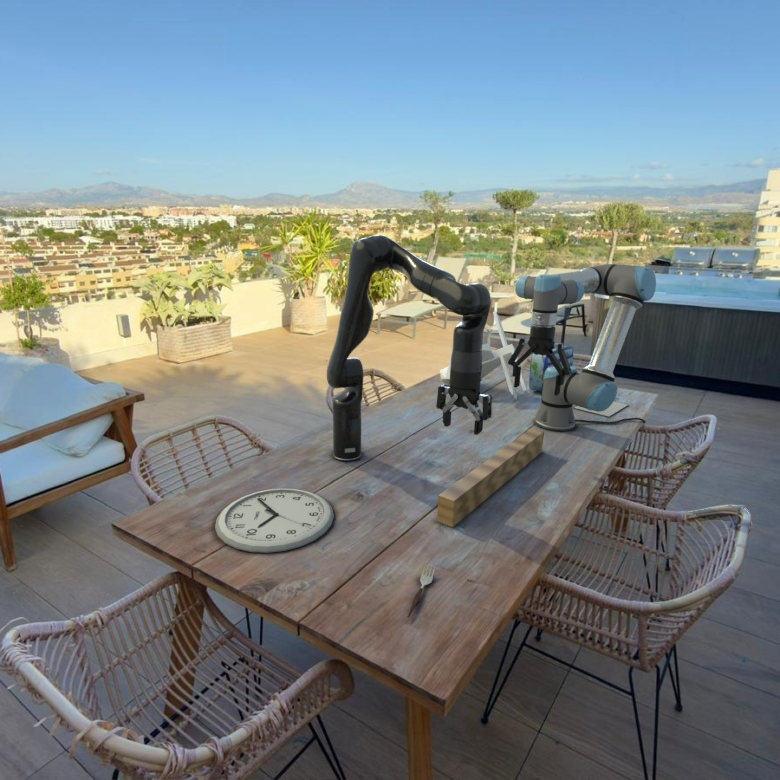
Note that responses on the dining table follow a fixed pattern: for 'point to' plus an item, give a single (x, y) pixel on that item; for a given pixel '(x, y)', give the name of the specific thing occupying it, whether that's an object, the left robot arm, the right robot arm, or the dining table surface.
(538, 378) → the lunch box
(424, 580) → the fork
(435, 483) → the dining table surface
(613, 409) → the invitation card
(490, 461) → the post
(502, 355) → the white plastic object
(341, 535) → the dining table surface
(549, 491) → the dining table surface
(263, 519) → the wall clock
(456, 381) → the left robot arm
